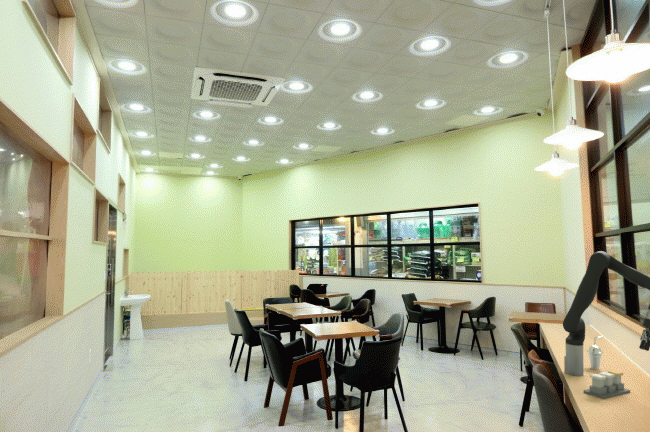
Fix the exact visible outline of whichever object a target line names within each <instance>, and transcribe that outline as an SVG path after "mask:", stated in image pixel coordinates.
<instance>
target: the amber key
mask: <svg viewBox="0 0 650 432" xmlns="http://www.w3.org/2000/svg"><path fill="white" fill-rule="evenodd" d="M607 373H611V374H615V377H613V383H614V384H621V383H622V376H624V372H622V371H619V370H614V369H613V370H608V371H607Z"/></svg>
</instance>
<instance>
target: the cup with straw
mask: <svg viewBox="0 0 650 432" xmlns="http://www.w3.org/2000/svg"><path fill="white" fill-rule="evenodd" d="M604 337H605V336H604V335H602V336H601V335H600V336H595V337H593V342H594V344H593V345H590V346H589V347H588V349H587V350H586V352H588V356H589V357H588V358H589V364H590V365H589V366H590V368H591V369H593V370H600V367H601V360H602V359H601V358H602V355H603V354H604V353H603V350H602V349H601V347H599V346H597V344H596V340H597V339H598V338H604Z"/></svg>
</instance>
